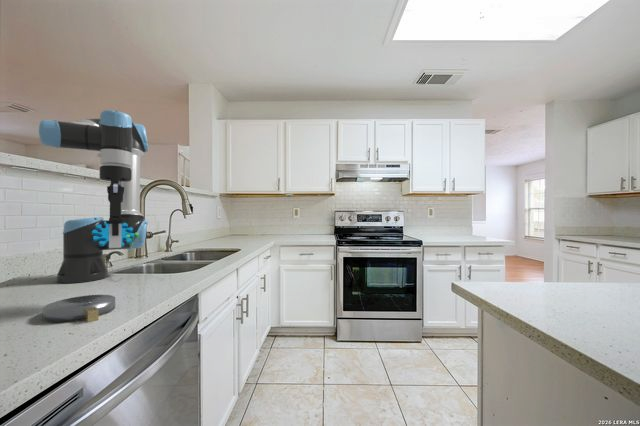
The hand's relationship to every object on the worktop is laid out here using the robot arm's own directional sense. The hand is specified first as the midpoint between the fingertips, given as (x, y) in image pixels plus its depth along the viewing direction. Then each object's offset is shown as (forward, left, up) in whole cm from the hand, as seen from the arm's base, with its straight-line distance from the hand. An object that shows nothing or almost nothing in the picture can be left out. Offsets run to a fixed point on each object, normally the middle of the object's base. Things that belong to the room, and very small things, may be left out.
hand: (115, 246), depth 83 cm
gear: (0, 0, 0) cm, 0 cm away
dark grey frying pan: (+9, -5, -16) cm, 19 cm away
